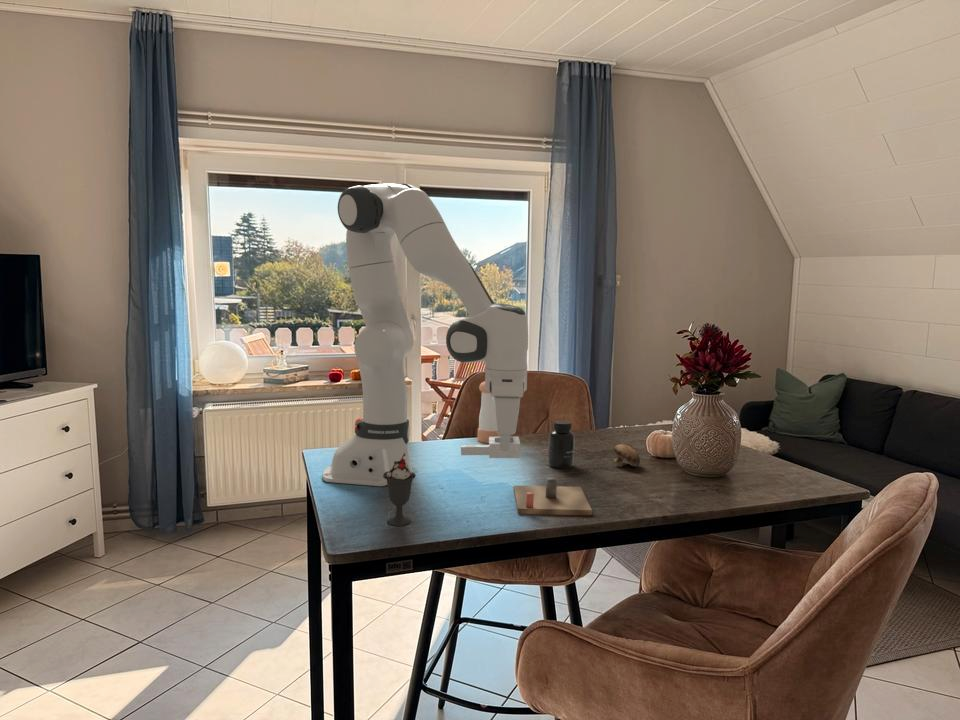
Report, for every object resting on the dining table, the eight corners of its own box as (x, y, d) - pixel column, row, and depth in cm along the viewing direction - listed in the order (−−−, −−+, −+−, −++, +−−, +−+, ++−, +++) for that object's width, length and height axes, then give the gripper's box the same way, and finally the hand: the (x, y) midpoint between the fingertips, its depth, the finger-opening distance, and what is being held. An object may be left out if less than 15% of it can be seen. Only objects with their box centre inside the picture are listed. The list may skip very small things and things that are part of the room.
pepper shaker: (500, 437, 218) (501, 376, 216) (502, 443, 211) (503, 380, 209) (476, 437, 218) (478, 376, 215) (478, 443, 211) (479, 380, 208)
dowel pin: (526, 507, 152) (526, 494, 151) (525, 505, 153) (526, 492, 153) (533, 508, 152) (534, 494, 151) (532, 505, 153) (533, 492, 153)
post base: (517, 513, 151) (518, 489, 150) (513, 490, 167) (514, 468, 166) (591, 515, 151) (592, 490, 151) (580, 491, 167) (581, 469, 166)
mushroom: (605, 456, 187) (619, 437, 188) (606, 460, 195) (619, 442, 195) (630, 474, 185) (644, 455, 185) (631, 477, 192) (644, 458, 193)
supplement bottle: (572, 470, 185) (574, 425, 183) (546, 468, 186) (548, 424, 185) (574, 463, 192) (576, 420, 190) (549, 461, 193) (551, 418, 191)
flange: (518, 449, 153) (518, 436, 152) (519, 457, 146) (519, 443, 146) (461, 450, 153) (461, 436, 152) (460, 458, 146) (460, 444, 146)
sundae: (406, 529, 141) (407, 457, 139) (377, 524, 143) (377, 453, 141) (421, 519, 147) (421, 449, 145) (392, 514, 149) (393, 445, 147)
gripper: (490, 373, 158) (488, 433, 159) (491, 389, 137) (490, 457, 139) (518, 374, 158) (516, 434, 159) (523, 390, 137) (521, 458, 139)
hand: (504, 445), depth 149 cm, fingers closed on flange, 6 cm apart
